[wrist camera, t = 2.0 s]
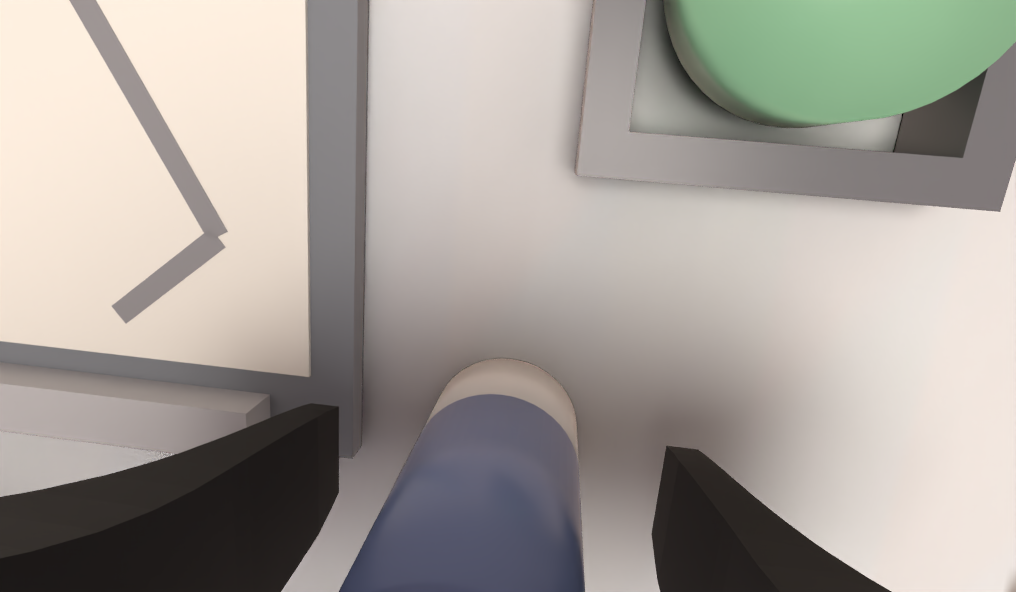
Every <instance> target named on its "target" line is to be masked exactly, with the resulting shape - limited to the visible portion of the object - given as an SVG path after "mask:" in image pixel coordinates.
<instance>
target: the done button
mask: <svg viewBox="0 0 1016 592" xmlns="http://www.w3.org/2000/svg"><path fill="white" fill-rule="evenodd" d="M664 12H665V17H666V23H667V28H668V32H669V35H670V38H671V41H672V45H673V47H674V49H675V51H676V54H677V56H678V58H679V60H680V62H681V64H682V66H683V67H684V69H685V70H686V72H687V73H688V75H689V76H690V78H691V79H692V80H693V81H694V83H695V84H696V85H697V86H698V87H699V88H700V89H701V91H702V92H703V93H705V94H706V95H707V96H708V97H709V98H710V99H712V100H713V101H714V102H715V103H716V104H718V105H719V106H721V107H723V108H724V109H726V110H727V111H729V112H730V113H732V114H735V115H737V116H739V117H741V118H744V119H746V120H748V121H752V122H755V123H759V124H762V125H767V126H774V127H781V128H804V127H813V126H821V125H829V124H837V123H845V122H853V121H862V120H870V119H878V118H885V117H889V116H893V115H897V114H901V113H905V112H909V111H911V110H914V109H917V108H919V107H922V106H925V105H927V104H930V103H932V102H934V101H936V100H938V99H940V98H942V97H944V96H946V95H948V94H950V93H952V92H954V91H956V90H957V89H959V88H960V87H962V86H963V85H965V84H966V83H968V82H970V81H971V80H973V79H974V78H976V77H977V76H978V75H980V74H981V73H982V72H983V71H985V70H986V69H987V68H988V67H989V66H991V65H992V64H993V63H994V62H995V61H997V60H998V59H999V58H1000V57H1001V56H1002V55H1003V54H1004V53H1005V52H1006V51H1007V50H1008V49H1009V48H1010V47H1011V46H1012V45H1013V44H1014V43H1015V42H1016V0H664Z"/></svg>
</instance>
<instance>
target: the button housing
mask: <svg viewBox="0 0 1016 592" xmlns="http://www.w3.org/2000/svg"><path fill="white" fill-rule="evenodd" d="M645 5H646V0H593V7H592V17H591V26H590V35H589V44H588V54H587V63H586V72H585V82H584V91H583V100H582V109H581V119H580V128H579V137H578V146H577V156H576V165H575V174H576V175H577V176H588V177H600V178H612V179H623V180H635V181H647V182H658V183H670V184H682V185H693V186H705V187H717V188H729V189H740V190H752V191H764V192H775V193H787V194H799V195H811V196H822V197H834V198H846V199H857V200H869V201H881V202H893V203H904V204H916V205H928V206H939V207H951V208H963V209H975V210H986V211H998V212H1000V210H1001V207H1002V203H1003V200H1004V197H1005V193H1006V190H1007V187H1008V183H1009V180H1010V177H1011V173H1012V170H1013V167H1014V163H1015V160H1016V42H1015V43H1014V44H1013V45H1012V46H1011V47H1010V48H1009V49H1008V50H1007V51H1006V52H1005V53H1004V54H1003V55H1002V56H1001V57H1000V58H999V59H998V60H997V61H995V62H994V63H993V64H992V65H991V66H989V67H988V68H987V69H986V70H985V71H983V72H982V73H981V74H980V75H978V76H977V77H976V78H974V79H973V80H971V81H970V82H968V83H966V84H965V85H963V86H962V87H960V88H959V89H957V90H956V91H954V92H952V93H950V94H948V95H946V96H944V97H942V98H940V99H938V100H936V101H934V102H932V103H930V104H927V105H925V106H922V107H919V108H917V109H914V110H911V111H909V112H905V113H904V114H903V118H902V122H901V126H900V130H899V134H898V138H897V142H896V147H895V151H894V153H893V152H880V151H867V150H855V149H842V148H829V147H817V146H804V145H791V144H779V143H766V142H753V141H741V140H728V139H715V138H703V137H690V136H677V135H665V134H652V133H639V132H629V129H630V121H631V113H632V105H633V98H634V90H635V82H636V75H637V67H638V59H639V51H640V44H641V36H642V28H643V21H644V13H645Z"/></svg>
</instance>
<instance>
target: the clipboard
mask: <svg viewBox="0 0 1016 592" xmlns="http://www.w3.org/2000/svg"><path fill="white" fill-rule="evenodd" d="M367 60H368V0H0V431H4V432H12V433H20V434H27V435H35V436H43V437H51V438H58V439H66V440H74V441H81V442H89V443H97V444H105V445H112V446H120V447H128V448H135V449H143V450H151V451H159V452H166V453H174V454H178V453H181V452H184V451H186V450H189V449H192V448H195V447H197V446H200V445H203V444H205V443H208V442H211V441H213V440H216V439H219V438H222V437H224V436H227V435H229V434H232V433H234V432H237V431H239V430H242V429H244V428H247V427H249V426H251V425H254V424H256V423H259V422H261V421H264V420H266V419H268V418H271V417H273V416H276V415H278V414H281V413H283V412H286V411H289V410H291V409H294V408H297V407H300V406H303V405H306V404H310V403H314V404H322V405H330V406H339V457H344V458H352V459H353V457H354V456H355V454H356V453H357V451H358V450H359V449H360V447H361V437H362V374H363V311H364V249H365V186H366V123H367Z"/></svg>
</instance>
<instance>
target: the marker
mask: <svg viewBox="0 0 1016 592" xmlns="http://www.w3.org/2000/svg"><path fill="white" fill-rule="evenodd" d="M339 592H585V582H584V562H583V541H582V521H581V501H580V481H579V461H578V440H577V423H576V415H575V411H574V407H573V405H572V402H571V400H570V398H569V396H568V394H567V393H566V391H565V390H564V389H563V387H562V386H561V385H560V384H559V383H558V382H557V381H556V379H555V378H553V377H552V376H551V375H550V374H548V373H547V372H546V371H544V370H542V369H541V368H539V367H537V366H535V365H532V364H530V363H527V362H524V361H520V360H515V359H505V358H499V359H490V360H485V361H481V362H478V363H475V364H473V365H471V366H469V367H467V368H465V369H463V370H462V371H461V372H459V373H458V374H457V375H456V376H454V377H453V378H452V379H451V380H450V382H449V383H448V384H447V385H446V387H445V388H444V390H443V392H442V393H441V395H440V397H439V399H438V401H437V403H436V405H435V407H434V409H433V411H432V413H431V414H430V416H429V418H428V420H427V422H426V424H425V426H424V428H423V430H422V432H421V434H420V436H419V438H418V440H417V442H416V443H415V445H414V447H413V449H412V451H411V453H410V455H409V457H408V459H407V461H406V463H405V465H404V467H403V469H402V471H401V472H400V474H399V476H398V478H397V480H396V482H395V484H394V486H393V488H392V490H391V492H390V494H389V496H388V498H387V500H386V501H385V503H384V505H383V507H382V509H381V511H380V513H379V515H378V517H377V519H376V521H375V523H374V525H373V527H372V529H371V530H370V532H369V534H368V536H367V538H366V540H365V542H364V544H363V546H362V548H361V550H360V552H359V554H358V556H357V558H356V560H355V561H354V563H353V565H352V567H351V569H350V571H349V573H348V575H347V577H346V579H345V581H344V583H343V585H342V587H341V589H340V590H339Z"/></svg>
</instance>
